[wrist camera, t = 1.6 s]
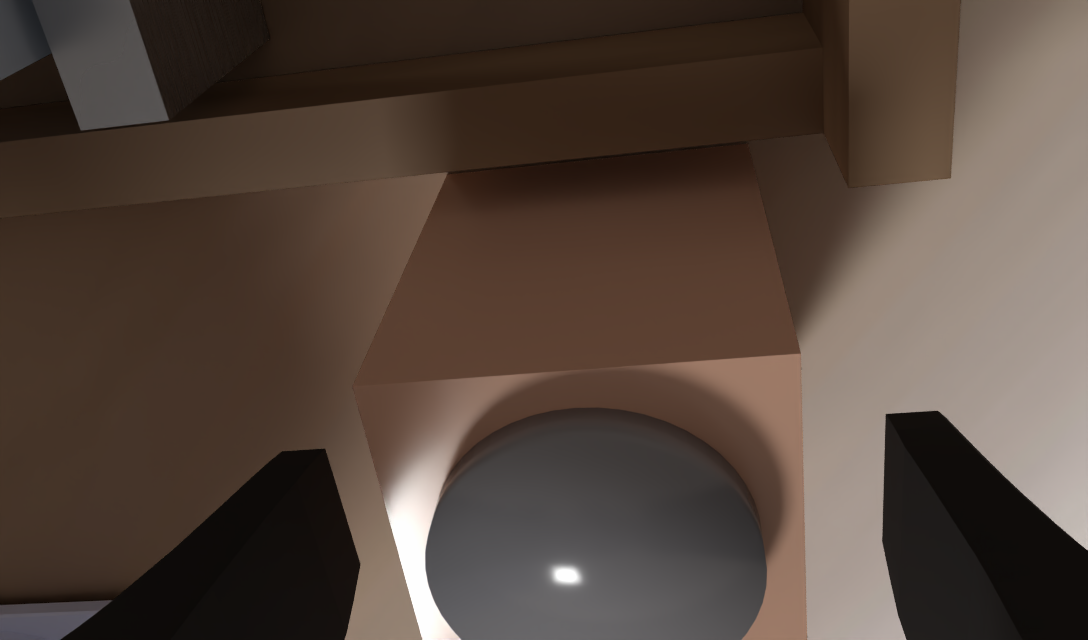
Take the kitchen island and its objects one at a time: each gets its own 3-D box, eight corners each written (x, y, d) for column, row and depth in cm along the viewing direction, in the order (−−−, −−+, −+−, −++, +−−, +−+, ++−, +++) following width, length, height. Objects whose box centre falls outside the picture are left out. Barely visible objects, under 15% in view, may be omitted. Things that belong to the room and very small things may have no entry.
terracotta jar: (759, 398, 19) (814, 716, 13) (495, 416, 20) (428, 725, 14) (747, 142, 17) (808, 384, 10) (447, 173, 17) (338, 416, 11)
